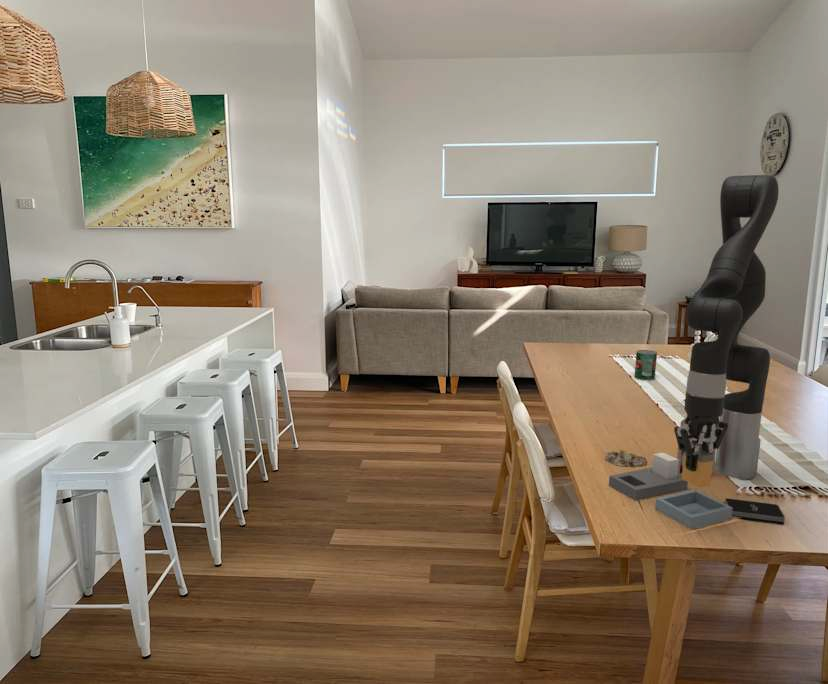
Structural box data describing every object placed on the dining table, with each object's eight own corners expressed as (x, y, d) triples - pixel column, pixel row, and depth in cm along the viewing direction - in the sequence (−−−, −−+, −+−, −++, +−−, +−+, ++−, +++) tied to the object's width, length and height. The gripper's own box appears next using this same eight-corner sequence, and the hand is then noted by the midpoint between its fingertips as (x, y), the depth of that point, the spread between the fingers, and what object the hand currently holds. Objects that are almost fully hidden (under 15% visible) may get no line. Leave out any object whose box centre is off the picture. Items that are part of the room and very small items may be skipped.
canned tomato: (630, 376, 263) (632, 350, 261) (646, 375, 265) (648, 349, 263) (642, 381, 256) (644, 354, 253) (659, 380, 258) (661, 353, 256)
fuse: (660, 479, 160) (662, 452, 158) (675, 486, 155) (678, 459, 154) (651, 481, 158) (653, 454, 157) (666, 488, 154) (669, 461, 152)
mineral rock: (604, 459, 168) (607, 441, 174) (602, 472, 170) (605, 455, 176) (647, 466, 164) (649, 448, 171) (645, 480, 166) (647, 462, 173)
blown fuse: (691, 476, 143) (694, 446, 141) (710, 485, 138) (713, 454, 137) (681, 478, 141) (684, 448, 140) (699, 487, 137) (703, 456, 136)
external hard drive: (784, 526, 138) (785, 518, 137) (728, 519, 141) (729, 510, 140) (776, 512, 144) (777, 504, 144) (722, 505, 147) (723, 497, 147)
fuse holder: (658, 477, 162) (659, 465, 161) (686, 491, 154) (688, 479, 153) (608, 487, 156) (609, 475, 155) (635, 502, 148) (636, 490, 147)
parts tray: (694, 501, 148) (695, 489, 148) (731, 520, 139) (732, 507, 139) (654, 510, 143) (655, 498, 143) (690, 530, 135) (691, 517, 134)
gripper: (714, 384, 142) (706, 458, 145) (666, 390, 136) (659, 467, 140) (744, 393, 135) (734, 470, 139) (695, 399, 130) (686, 480, 133)
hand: (697, 468), depth 139 cm, fingers closed on blown fuse, 3 cm apart
